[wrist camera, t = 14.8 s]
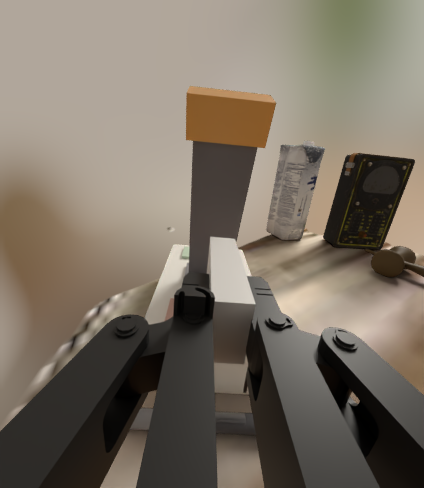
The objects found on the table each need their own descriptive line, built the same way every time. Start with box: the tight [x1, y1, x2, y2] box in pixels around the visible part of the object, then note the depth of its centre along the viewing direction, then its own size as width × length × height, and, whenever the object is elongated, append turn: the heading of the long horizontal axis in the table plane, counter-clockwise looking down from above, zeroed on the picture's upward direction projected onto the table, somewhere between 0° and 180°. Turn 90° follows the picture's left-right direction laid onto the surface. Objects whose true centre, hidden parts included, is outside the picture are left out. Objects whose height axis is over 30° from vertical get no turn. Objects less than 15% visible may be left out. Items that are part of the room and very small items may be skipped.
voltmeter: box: [323, 153, 415, 250], centre depth 65 cm, size 16×9×25 cm, turn 95°
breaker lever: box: [186, 86, 276, 274], centre depth 23 cm, size 2×6×19 cm, turn 91°
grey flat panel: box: [130, 408, 256, 435], centre depth 32 cm, size 29×14×1 cm, turn 1°
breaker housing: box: [145, 244, 251, 395], centre depth 31 cm, size 22×12×7 cm, turn 1°
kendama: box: [365, 246, 424, 277], centre depth 50 cm, size 6×10×20 cm
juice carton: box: [267, 141, 325, 240], centre depth 67 cm, size 9×10×27 cm
